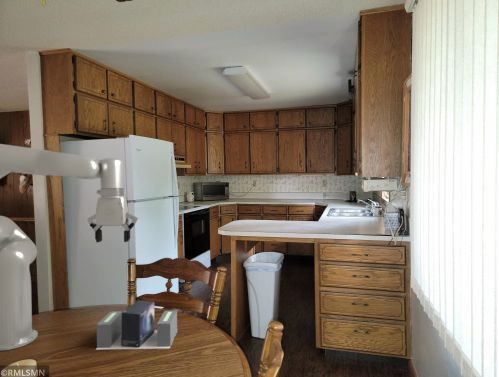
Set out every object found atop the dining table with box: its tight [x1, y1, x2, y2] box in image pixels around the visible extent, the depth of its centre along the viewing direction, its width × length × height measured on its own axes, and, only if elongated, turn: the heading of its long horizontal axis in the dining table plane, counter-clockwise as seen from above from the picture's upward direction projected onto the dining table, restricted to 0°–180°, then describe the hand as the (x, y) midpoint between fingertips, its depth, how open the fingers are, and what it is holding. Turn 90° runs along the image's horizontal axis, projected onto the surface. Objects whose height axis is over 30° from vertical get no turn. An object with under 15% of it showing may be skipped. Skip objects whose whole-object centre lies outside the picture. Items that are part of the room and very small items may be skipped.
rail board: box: [95, 329, 178, 351], centre depth 103 cm, size 22×12×2 cm, turn 91°
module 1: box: [96, 310, 123, 348], centre depth 102 cm, size 4×10×7 cm, turn 1°
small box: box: [121, 300, 156, 347], centre depth 102 cm, size 11×6×10 cm, turn 171°
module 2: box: [156, 310, 178, 348], centre depth 103 cm, size 4×10×7 cm, turn 1°
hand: (112, 241), depth 115 cm, fingers open, 9 cm apart
